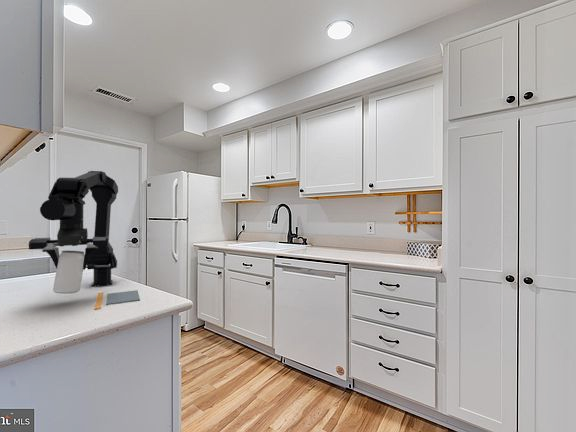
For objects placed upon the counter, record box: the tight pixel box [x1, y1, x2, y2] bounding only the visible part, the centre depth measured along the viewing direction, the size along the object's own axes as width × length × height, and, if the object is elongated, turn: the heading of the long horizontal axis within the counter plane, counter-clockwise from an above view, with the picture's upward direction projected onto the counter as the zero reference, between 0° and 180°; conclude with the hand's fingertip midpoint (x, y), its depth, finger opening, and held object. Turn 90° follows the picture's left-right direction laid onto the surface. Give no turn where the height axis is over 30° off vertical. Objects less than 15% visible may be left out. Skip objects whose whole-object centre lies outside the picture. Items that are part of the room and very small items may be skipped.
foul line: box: [93, 291, 104, 311], centre depth 89 cm, size 18×2×1 cm, turn 31°
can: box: [52, 250, 85, 294], centre depth 86 cm, size 6×6×12 cm
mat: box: [105, 289, 141, 306], centre depth 92 cm, size 12×9×1 cm
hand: (71, 270), depth 86 cm, fingers closed on can, 6 cm apart
